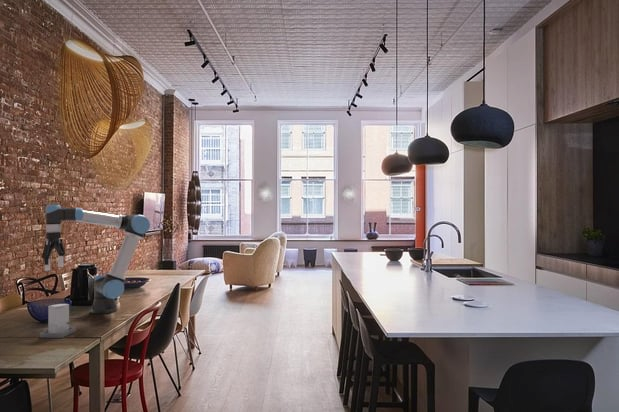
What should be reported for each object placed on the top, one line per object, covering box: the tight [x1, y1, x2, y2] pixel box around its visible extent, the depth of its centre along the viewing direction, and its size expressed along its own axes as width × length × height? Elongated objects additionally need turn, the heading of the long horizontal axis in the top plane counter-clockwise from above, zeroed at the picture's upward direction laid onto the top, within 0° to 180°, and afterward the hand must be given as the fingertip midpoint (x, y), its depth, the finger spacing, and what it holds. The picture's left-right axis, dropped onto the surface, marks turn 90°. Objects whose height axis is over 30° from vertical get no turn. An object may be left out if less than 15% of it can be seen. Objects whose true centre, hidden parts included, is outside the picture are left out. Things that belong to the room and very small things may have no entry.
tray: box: [39, 326, 77, 339], centre depth 248 cm, size 12×12×2 cm
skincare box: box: [47, 303, 70, 333], centre depth 249 cm, size 8×6×15 cm
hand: (54, 268), depth 272 cm, fingers open, 13 cm apart
